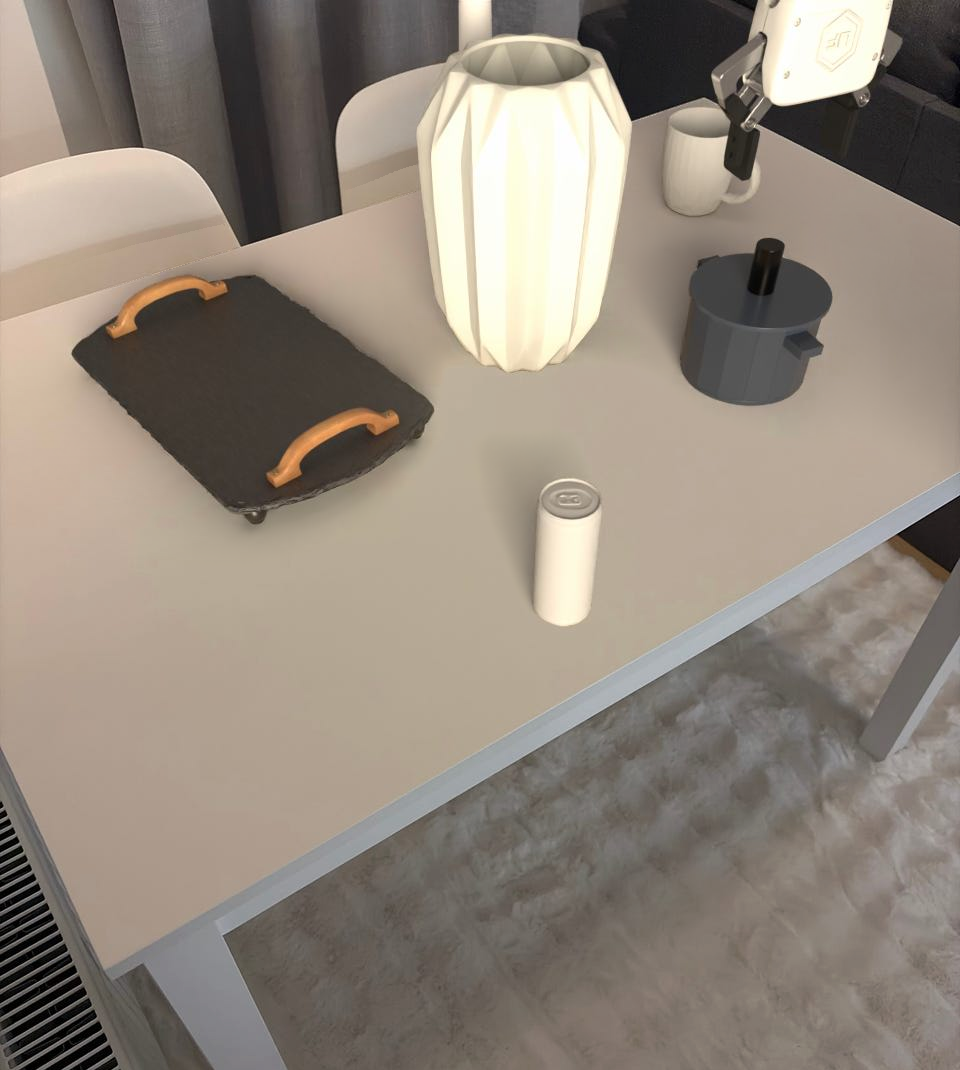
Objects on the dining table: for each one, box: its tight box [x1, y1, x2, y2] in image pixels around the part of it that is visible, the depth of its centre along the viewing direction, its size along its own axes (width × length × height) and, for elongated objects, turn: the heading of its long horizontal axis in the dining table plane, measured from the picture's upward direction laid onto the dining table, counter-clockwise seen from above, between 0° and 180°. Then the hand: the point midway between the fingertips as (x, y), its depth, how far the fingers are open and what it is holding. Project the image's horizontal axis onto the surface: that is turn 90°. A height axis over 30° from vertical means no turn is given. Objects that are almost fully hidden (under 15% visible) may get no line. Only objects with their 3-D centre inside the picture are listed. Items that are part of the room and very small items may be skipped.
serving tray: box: [71, 273, 435, 525], centre depth 94 cm, size 39×23×6 cm, turn 41°
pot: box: [679, 254, 825, 406], centre depth 95 cm, size 13×18×8 cm
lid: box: [688, 237, 834, 333], centre depth 90 cm, size 14×14×6 cm
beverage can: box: [531, 477, 604, 627], centre depth 73 cm, size 5×5×12 cm
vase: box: [416, 32, 633, 374], centre depth 91 cm, size 20×20×28 cm
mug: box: [661, 106, 762, 217], centre depth 116 cm, size 13×9×10 cm
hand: (784, 162), depth 81 cm, fingers open, 9 cm apart
